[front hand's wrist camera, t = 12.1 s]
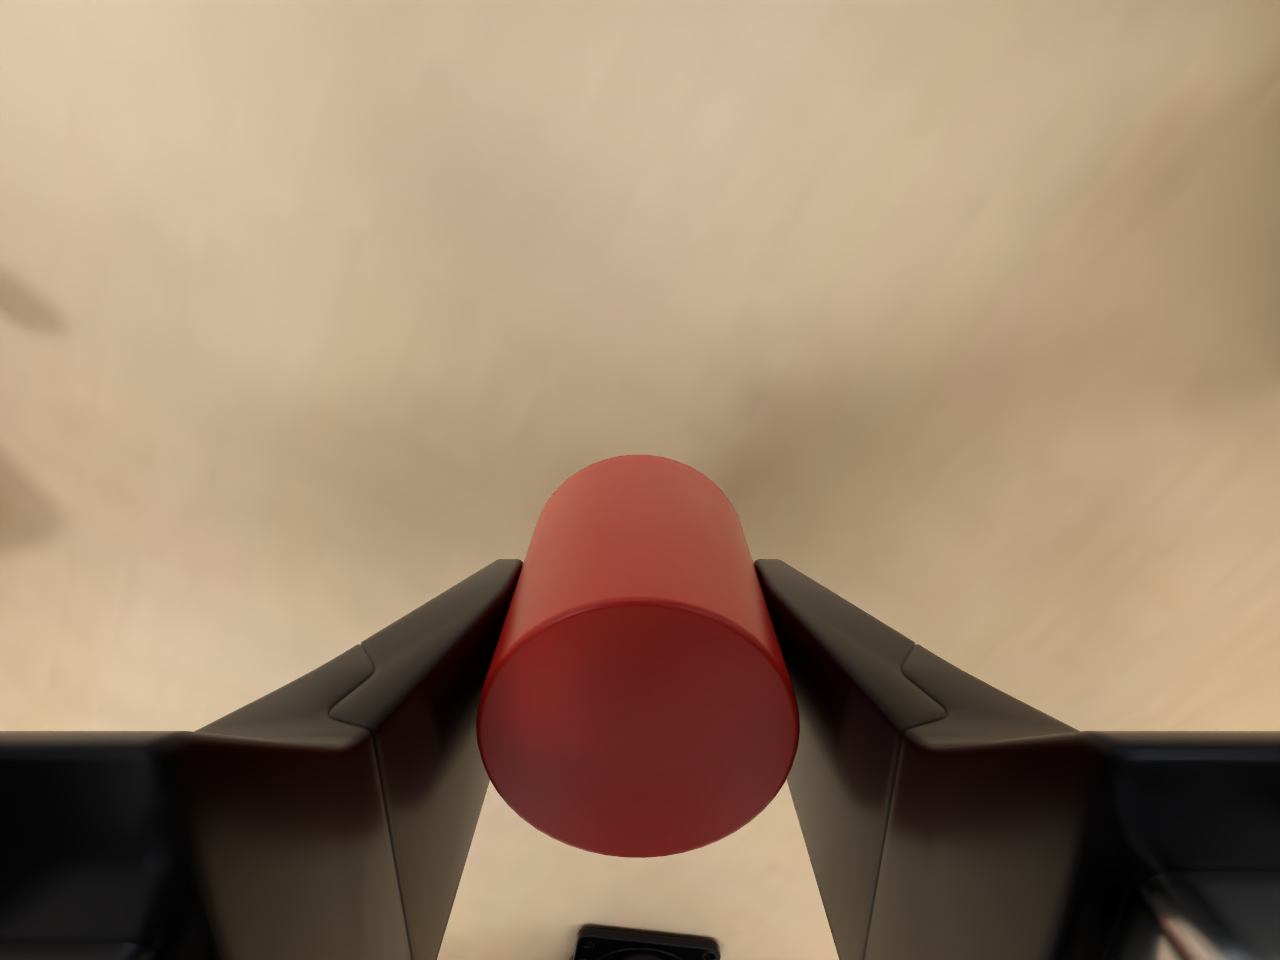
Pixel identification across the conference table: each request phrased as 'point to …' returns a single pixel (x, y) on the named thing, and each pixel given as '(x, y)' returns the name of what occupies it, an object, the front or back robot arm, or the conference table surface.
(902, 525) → the conference table surface
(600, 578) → the can
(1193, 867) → the front robot arm
